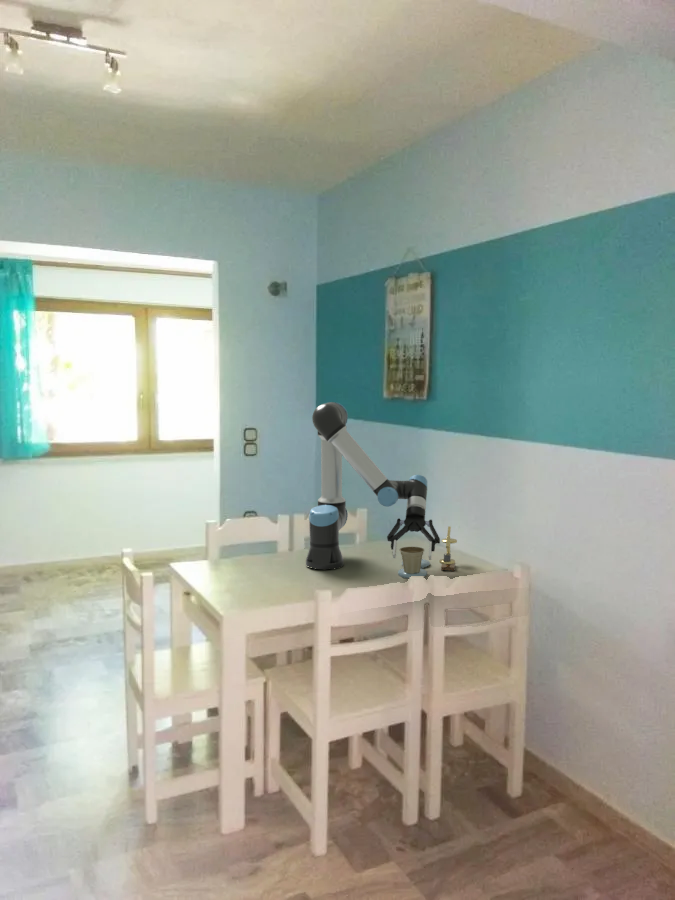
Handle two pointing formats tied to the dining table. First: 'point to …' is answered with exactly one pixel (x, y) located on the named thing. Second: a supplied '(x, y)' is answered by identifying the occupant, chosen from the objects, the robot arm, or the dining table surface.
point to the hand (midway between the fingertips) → (411, 557)
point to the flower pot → (412, 559)
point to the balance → (448, 553)
